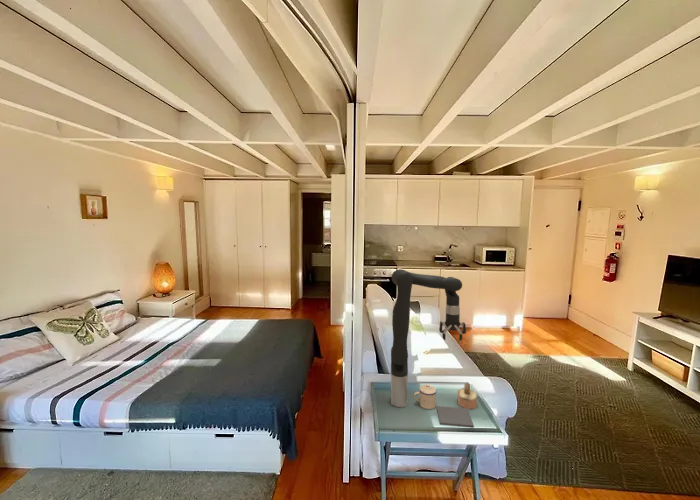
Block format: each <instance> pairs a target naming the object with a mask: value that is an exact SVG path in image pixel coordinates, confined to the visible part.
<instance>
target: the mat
mask: <svg viewBox="0 0 700 500" xmlns="http://www.w3.org/2000/svg"><path fill="white" fill-rule="evenodd" d="M436 411H437V412H436V413H437V415H438V423H439V425H442V426H451V427H452V426H453V427H454V426H455V427H464V428H474V427H475V425H474V422H473V420H472V417H471V415H470V411H469V409H468V408H463V407H451V406H443V405H442V406H440V405H436Z"/></svg>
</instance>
